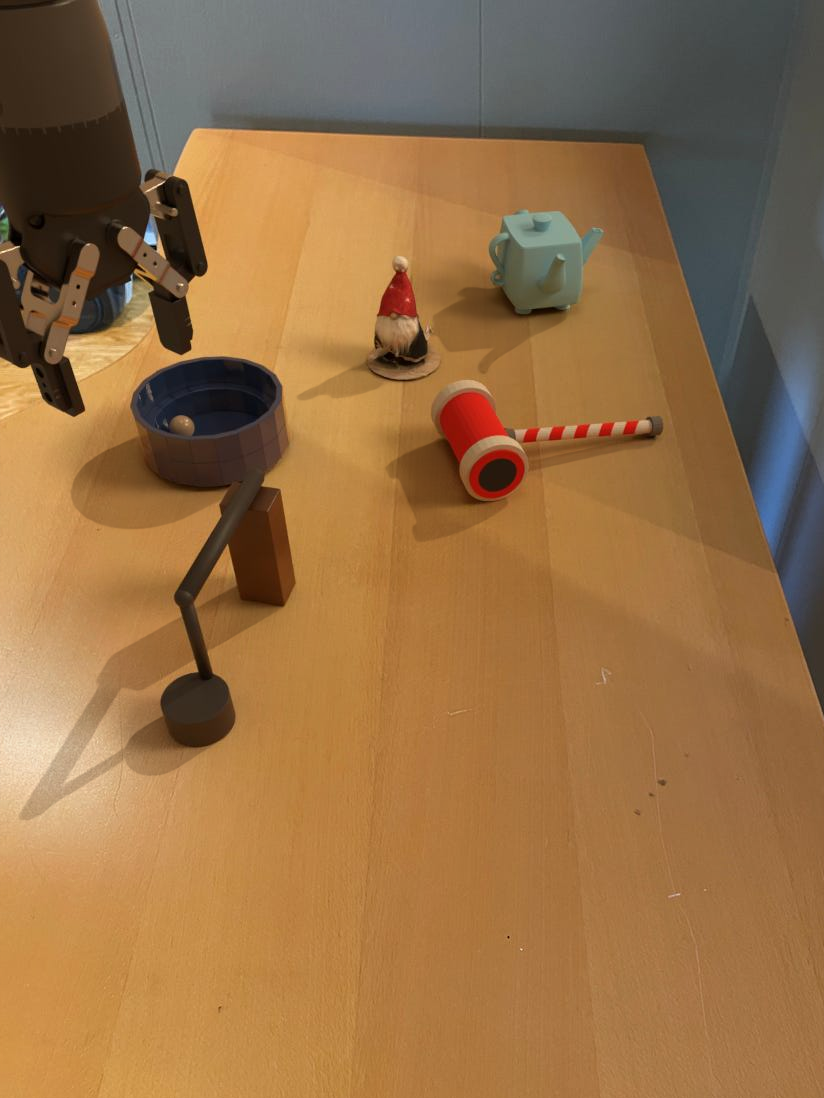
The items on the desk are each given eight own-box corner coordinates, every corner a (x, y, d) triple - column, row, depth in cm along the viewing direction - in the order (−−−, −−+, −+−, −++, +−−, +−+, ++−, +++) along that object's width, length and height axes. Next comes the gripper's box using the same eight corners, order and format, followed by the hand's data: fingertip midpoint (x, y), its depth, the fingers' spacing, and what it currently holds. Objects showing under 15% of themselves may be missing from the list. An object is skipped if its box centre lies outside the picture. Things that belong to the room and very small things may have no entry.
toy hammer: (634, 402, 104) (642, 349, 99) (683, 466, 96) (694, 411, 92) (430, 438, 99) (429, 383, 94) (464, 508, 91) (465, 452, 87)
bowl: (120, 480, 93) (104, 427, 89) (180, 399, 103) (168, 348, 98) (260, 501, 91) (251, 448, 87) (308, 417, 101) (302, 366, 97)
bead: (168, 443, 96) (162, 422, 95) (178, 429, 98) (173, 409, 96) (190, 446, 96) (186, 425, 94) (200, 432, 98) (195, 412, 96)
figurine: (394, 369, 100) (355, 262, 101) (374, 404, 110) (339, 305, 110) (465, 352, 103) (427, 247, 103) (440, 387, 113) (405, 290, 113)
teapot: (470, 270, 124) (471, 189, 117) (574, 259, 126) (581, 180, 119) (507, 341, 112) (511, 257, 105) (621, 328, 115) (633, 245, 107)
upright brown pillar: (239, 599, 82) (218, 504, 75) (252, 575, 84) (232, 481, 77) (284, 606, 82) (267, 512, 74) (296, 582, 84) (280, 488, 76)
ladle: (220, 752, 72) (189, 645, 63) (157, 740, 72) (117, 633, 64) (304, 578, 84) (287, 469, 76) (249, 569, 85) (227, 460, 76)
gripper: (106, 45, 54) (169, 315, 66) (-132, 118, 46) (-11, 411, 58) (202, 72, 51) (250, 349, 63) (-34, 156, 43) (72, 456, 55)
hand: (125, 379), depth 60 cm, fingers open, 8 cm apart
